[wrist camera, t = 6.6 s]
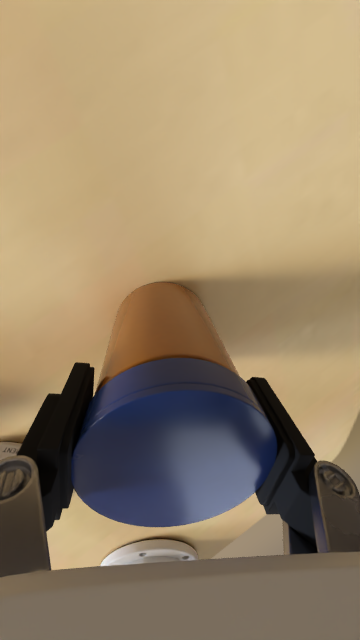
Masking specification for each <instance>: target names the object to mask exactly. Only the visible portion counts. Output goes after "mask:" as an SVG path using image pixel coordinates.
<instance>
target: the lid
mask: <svg viewBox="0 0 360 640" xmlns="http://www.w3.org/2000/svg"><path fill="white" fill-rule="evenodd" d="M276 456H277V440H276V435H275V432H274V430H273V427H272V425H271V424H270V422H269V420H268V418H267V416H266V414H265V413H264V411H263V409H262V407H261V405H260V403H259V402H258V400H257V398H256V396H255V394H254V393H253V391H252V389H251V388H250V386H249V385H248V384H247V383H246V382H245V381H244V380H243V379H242V378H241V377H240V376H238V375H237V374H236V373H234V372H232V371H231V370H229V369H227V368H226V367H223V366H221V365H218V364H216V363H213V362H210V361H206V360H200V359H194V358H167V359H160V360H155V361H150V362H147V363H144V364H140V365H137V366H135V367H133V368H130V369H128V370H126V371H124V372H122V373H121V374H119V375H117V376H115V377H114V378H113V379H111V380H110V381H109V382H107V383H106V384H105V385H104V386H103V387H102V388H101V389H100V390H99V391H98V392H97V393H96V394H95V396H94V397H93V398H92V399H91V401H90V403H89V404H88V406H87V408H86V410H85V413H84V416H83V420H82V423H81V426H80V430H79V433H78V436H77V440H76V443H75V446H74V449H73V453H72V457H71V481H72V484H73V487H74V489H75V491H76V492H77V494H78V496H79V497H80V498H81V499H82V500H83V502H84V503H86V504H87V505H88V506H89V507H90V508H91V509H93V510H94V511H96V512H98V513H99V514H101V515H103V516H105V517H107V518H110V519H112V520H115V521H118V522H122V523H126V524H130V525H136V526H144V527H171V526H179V525H186V524H191V523H195V522H199V521H203V520H206V519H209V518H212V517H214V516H217V515H219V514H222V513H224V512H226V511H228V510H230V509H232V508H234V507H235V506H237V505H239V504H240V503H242V502H243V501H245V500H246V499H247V498H249V497H250V496H251V495H252V494H254V493H255V492H256V491H257V490H258V489H259V488H260V487H261V485H262V484H263V483H264V482H265V480H266V478H267V477H268V475H269V473H270V471H271V469H272V467H273V465H274V463H275V460H276Z"/></svg>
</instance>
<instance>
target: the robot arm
mask: <svg viewBox="0 0 360 640" xmlns="http://www.w3.org/2000/svg"><path fill="white" fill-rule="evenodd" d="M246 383H247V384H248V385H249V386H250V388H251V389H252V391H253V393H254V394H255V396H256V398H257V400H258V402H259V403H260V405H261V407H262V409H263V411H264V413H265V414H266V416H267V418H268V420H269V422H270V424H271V425H272V427H273V430H274V432H275V435H276V440H277V456H276V460H275V463H274V465H273V467H272V469H271V471H270V473H269V475H268V477H267V478H266V480H265V482H264V483H263V484H262V485H261V487H260V488H259V489H258V490H257V491H256V492H255V493H256V495H257V498H258V501H259V503H260V504H261V505H263V506H264V508H265V511H266V514H280V516H281V518H282V520H283V544H284V555H274V556H256V557H240V558H223V559H205V560H198V554H197V552H196V551H195V550H194V549H193V548H192V547H191V546H189V545H187V544H185V543H183V542H179V541H175V540H168V539H155V540H146V541H140V542H136V543H132V544H129V545H126V546H124V547H121V548H119V549H117V550H115V551H114V552H112V553H111V554H109V555H108V556H107V557H106V558H105V559H104V560H103V561H102V563H101V565H100V566H96V567H85V568H73V569H61V570H51V564H50V557H49V549H48V542H47V534H46V531H48V530H49V529H50V528H51V527H52V526H53V523H54V520H59V519H60V516H61V512H62V508H68V507H69V504H70V501H71V497H72V493H73V489H74V487H73V484H72V481H71V457H72V453H73V449H74V446H75V443H76V440H77V436H78V433H79V430H80V426H81V423H82V420H83V416H84V413H85V410H86V408H87V406H88V404H89V403H90V401H91V399H92V398H93V386H94V367H90V364H89V363H77V362H76V363H75V364H74V366H73V369H72V371H71V373H70V375H69V378H68V380H67V382H66V384H65V386H64V389H63V391H62V393H61V394H48V395H47V397H46V399H45V401H44V402H43V404H42V406H41V408H40V410H39V412H38V414H37V416H36V418H35V420H34V422H33V424H32V426H31V428H30V430H29V432H28V433H27V435H26V437H25V439H24V441H23V443H22V445H21V447H20V449H19V451H18V453H17V455H15V456H11V457H7V458H4V459H2V460H0V640H360V495H359V492H358V489H357V487H356V485H355V483H354V481H353V480H352V479H351V477H350V476H349V475H348V474H347V473H346V472H345V471H344V470H343V469H341V468H340V467H339V466H337V465H335V464H333V463H331V462H328V461H318V462H317V461H316V459H315V457H314V456H315V454H314V453H313V451H312V450H311V448H310V447H309V445H308V444H307V442H306V440H305V439H304V437H303V436H302V434H301V433H300V431H299V430H298V428H297V427H296V425H295V424H294V422H293V421H292V419H291V417H290V416H289V414H288V413H287V411H286V410H285V408H284V407H283V405H282V404H281V402H280V401H279V399H278V398H277V396H276V394H275V393H274V391H273V390H272V388H271V387H270V385H269V384H268V382H267V381H266V379H265V378H258V377H252V378H251V379H250V380H248V381H247V382H246Z"/></svg>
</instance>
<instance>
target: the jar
mask: <svg viewBox="0 0 360 640" xmlns="http://www.w3.org/2000/svg"><path fill="white" fill-rule="evenodd" d="M167 358H194V359H200V360H206V361H210V362H213V363H216V364H218V365H221V366H223V367H226V368H227V369H229V370H231V371H232V372H234V373H236V374H237V375H238V376H239V374H238V372H237V370H236V368H235V366H234V364H233V362H232V360H231V358H230V356H229V354H228V353H227V351H226V349H225V347H224V345H223V343H222V341H221V339H220V337H219V335H218V333H217V331H216V329H215V327H214V326H213V324H212V322H211V320H210V318H209V316H208V314H207V312H206V310H205V308H204V306H203V304H202V303H201V301H200V300H199V299H198V297H197V296H196V295H195V294H194V293H192V292H191V291H190V290H188V289H187V288H185V287H183V286H180V285H177V284H174V283H168V282H157V283H151V284H147V285H144V286H142V287H140V288H138V289H136V290H135V291H133V292H132V293H131V294H129V295H128V296H127V297H126V299H125V300H124V301H123V302H122V304H121V305H120V308H119V310H118V312H117V316H116V319H115V323H114V327H113V330H112V334H111V338H110V341H109V345H108V348H107V352H106V356H105V359H104V363H103V366H102V370H101V374H100V377H99V381H98V385H97V388H96V392H95V394H96V393H97V392H98V391H99V390H100V389H101V388H102V387H103V386H104V385H105V384H106V383H107V382H109V381H110V380H111V379H113V378H114V377H115V376H117V375H119V374H121V373H122V372H124V371H126V370H128V369H130V368H133V367H135V366H137V365H140V364H144V363H147V362H150V361H155V360H160V359H167ZM94 396H95V395H94Z"/></svg>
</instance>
